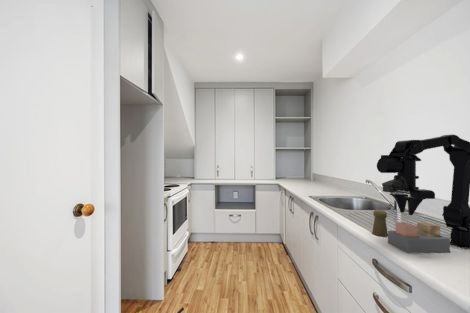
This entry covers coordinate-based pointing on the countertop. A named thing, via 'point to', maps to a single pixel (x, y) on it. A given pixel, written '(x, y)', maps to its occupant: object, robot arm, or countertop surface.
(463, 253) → the countertop surface
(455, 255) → the countertop surface
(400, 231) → the terracotta key
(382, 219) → the olive brown cylinder
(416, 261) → the countertop surface
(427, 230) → the oak key
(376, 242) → the countertop surface
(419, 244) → the grey socket block
